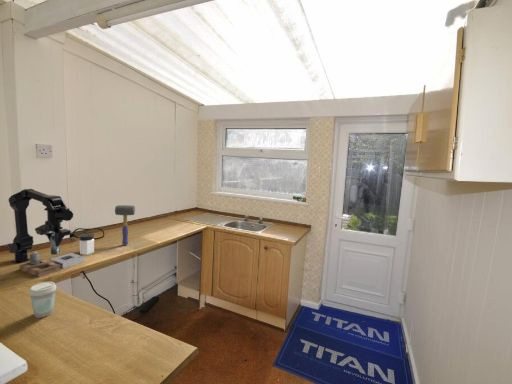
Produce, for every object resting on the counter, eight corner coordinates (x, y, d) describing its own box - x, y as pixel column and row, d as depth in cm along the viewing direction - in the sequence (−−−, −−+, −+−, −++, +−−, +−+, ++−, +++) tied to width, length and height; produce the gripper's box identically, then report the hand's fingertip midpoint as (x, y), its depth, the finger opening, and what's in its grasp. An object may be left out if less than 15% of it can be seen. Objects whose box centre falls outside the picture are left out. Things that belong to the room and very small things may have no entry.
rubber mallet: (114, 246, 181) (114, 206, 178) (117, 243, 188) (117, 204, 185) (133, 246, 185) (133, 206, 181) (135, 243, 192) (135, 204, 188)
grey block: (49, 253, 142) (48, 233, 141) (56, 251, 146) (56, 232, 144) (53, 255, 141) (53, 235, 139) (61, 252, 144) (60, 233, 143)
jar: (97, 250, 173) (97, 233, 171) (90, 254, 165) (90, 237, 163) (83, 250, 172) (83, 233, 170) (76, 254, 164) (75, 236, 162)
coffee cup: (26, 321, 97) (24, 292, 96) (35, 309, 105) (33, 282, 104) (53, 317, 101) (52, 289, 100) (60, 306, 109) (59, 279, 107)
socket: (49, 264, 148) (49, 259, 147) (71, 257, 159) (71, 252, 159) (62, 268, 143) (62, 263, 143) (84, 261, 154) (83, 256, 154)
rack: (19, 269, 139) (18, 253, 138) (40, 263, 148) (40, 248, 147) (39, 277, 132) (38, 260, 131) (60, 270, 141) (59, 254, 140)
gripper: (26, 219, 136) (27, 246, 138) (48, 224, 130) (49, 253, 132) (49, 215, 147) (50, 241, 149) (71, 219, 140) (71, 246, 142)
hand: (54, 245), depth 142 cm, fingers closed on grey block, 4 cm apart
